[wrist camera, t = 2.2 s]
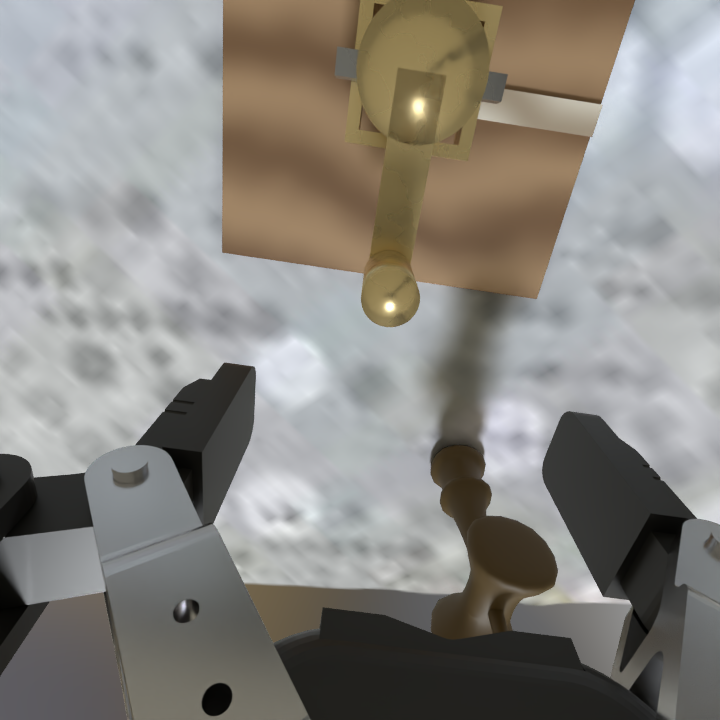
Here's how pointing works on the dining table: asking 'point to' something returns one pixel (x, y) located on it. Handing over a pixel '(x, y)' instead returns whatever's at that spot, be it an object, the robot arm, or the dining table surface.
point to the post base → (365, 163)
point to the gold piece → (414, 120)
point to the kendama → (486, 552)
